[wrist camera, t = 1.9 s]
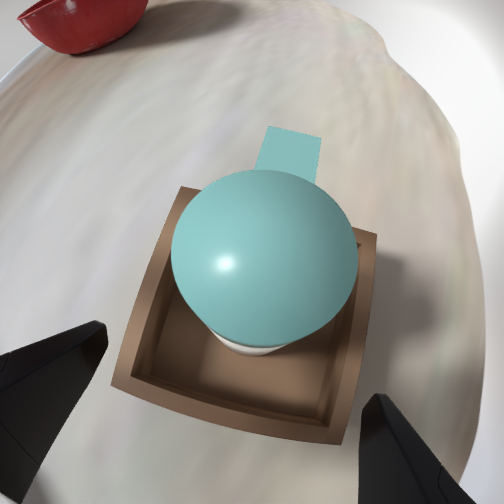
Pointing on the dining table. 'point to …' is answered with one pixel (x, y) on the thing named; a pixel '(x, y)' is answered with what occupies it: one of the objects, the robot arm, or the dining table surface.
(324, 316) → the canister
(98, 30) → the mixing bowl
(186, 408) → the brown wooden tray
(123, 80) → the dining table surface
